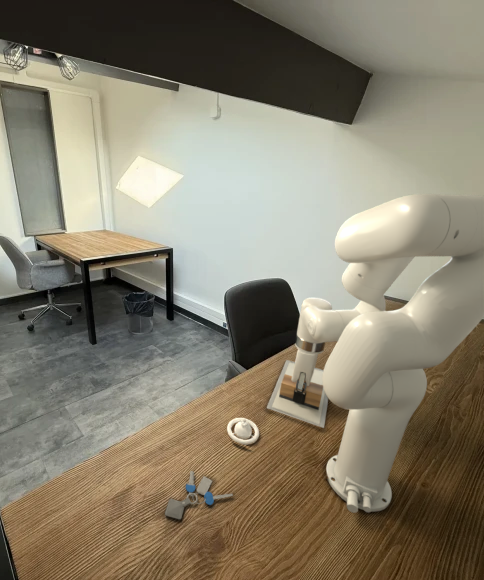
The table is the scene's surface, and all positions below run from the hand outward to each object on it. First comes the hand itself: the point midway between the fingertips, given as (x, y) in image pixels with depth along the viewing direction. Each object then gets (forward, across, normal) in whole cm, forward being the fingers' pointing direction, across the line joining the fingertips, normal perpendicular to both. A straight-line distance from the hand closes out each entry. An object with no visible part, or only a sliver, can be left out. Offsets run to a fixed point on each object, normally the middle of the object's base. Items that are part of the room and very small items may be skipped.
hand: (300, 396), depth 89 cm
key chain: (+2, +40, -14) cm, 42 cm away
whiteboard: (+2, -5, 0) cm, 5 cm away
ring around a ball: (+2, +21, -10) cm, 23 cm away
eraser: (+1, 0, 0) cm, 1 cm away
